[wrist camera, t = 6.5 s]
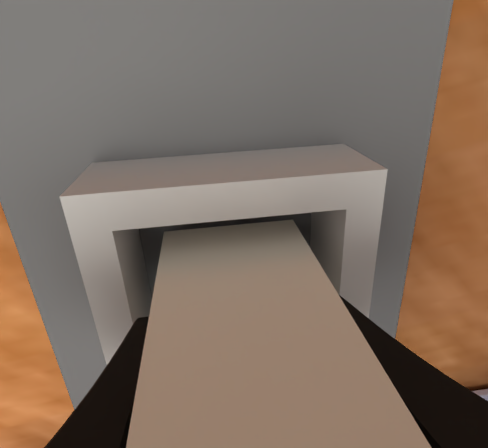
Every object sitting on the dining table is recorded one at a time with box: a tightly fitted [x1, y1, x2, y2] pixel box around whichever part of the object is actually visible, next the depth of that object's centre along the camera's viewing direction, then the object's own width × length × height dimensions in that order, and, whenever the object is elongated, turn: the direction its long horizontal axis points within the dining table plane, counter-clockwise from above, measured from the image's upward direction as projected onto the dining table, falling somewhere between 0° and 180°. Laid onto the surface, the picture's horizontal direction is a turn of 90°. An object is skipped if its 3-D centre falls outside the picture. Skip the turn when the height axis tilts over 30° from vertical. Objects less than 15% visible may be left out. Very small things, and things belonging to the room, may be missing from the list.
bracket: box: [0, 0, 453, 410], centre depth 12 cm, size 14×18×4 cm
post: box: [126, 220, 431, 448], centre depth 8 cm, size 4×4×8 cm
